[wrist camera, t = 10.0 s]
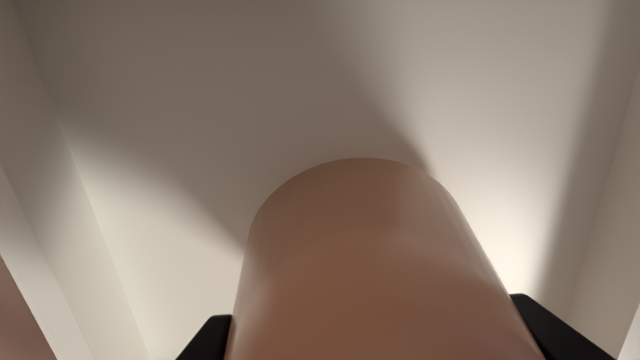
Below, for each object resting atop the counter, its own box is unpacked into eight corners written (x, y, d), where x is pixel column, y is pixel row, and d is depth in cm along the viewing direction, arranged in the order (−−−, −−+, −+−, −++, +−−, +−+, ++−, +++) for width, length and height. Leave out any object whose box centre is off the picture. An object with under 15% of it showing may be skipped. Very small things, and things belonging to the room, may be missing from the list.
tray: (716, -122, 8) (876, -145, 6) (562, 375, 14) (608, 453, 12) (-38, -61, 8) (-171, -61, 6) (153, 404, 15) (126, 486, 12)
